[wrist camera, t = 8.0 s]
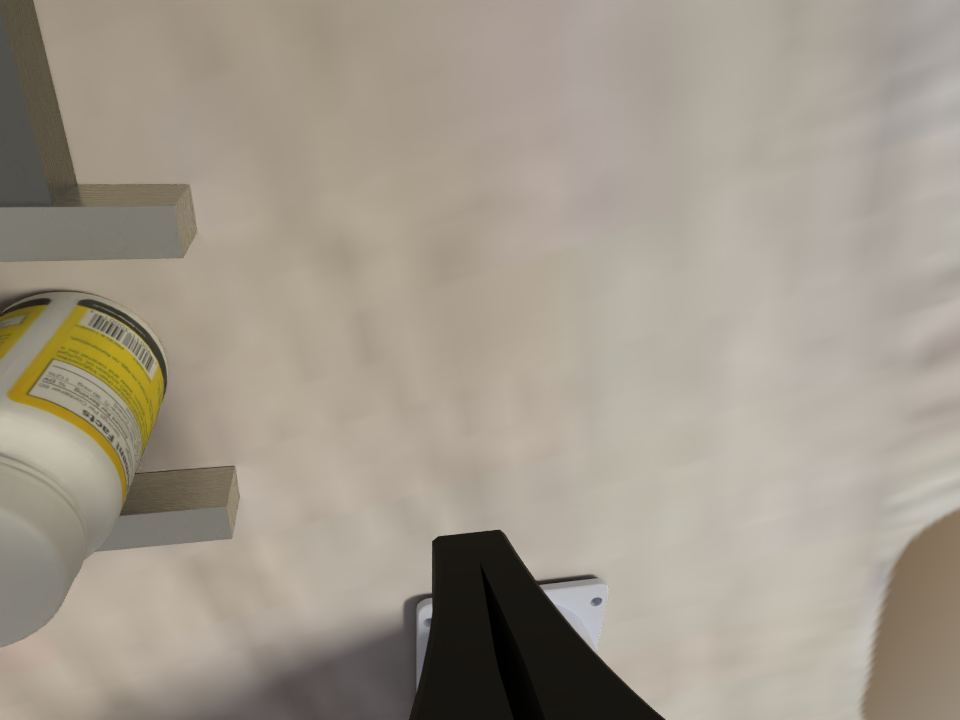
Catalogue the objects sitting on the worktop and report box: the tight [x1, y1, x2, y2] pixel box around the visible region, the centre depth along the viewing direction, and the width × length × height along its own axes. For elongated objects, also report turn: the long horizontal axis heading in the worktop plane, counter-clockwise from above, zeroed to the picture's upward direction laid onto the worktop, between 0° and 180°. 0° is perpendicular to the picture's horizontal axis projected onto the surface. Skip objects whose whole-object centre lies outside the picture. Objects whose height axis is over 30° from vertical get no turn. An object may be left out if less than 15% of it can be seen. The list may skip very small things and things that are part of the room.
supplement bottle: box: [0, 292, 168, 647], centre depth 16 cm, size 5×5×8 cm
